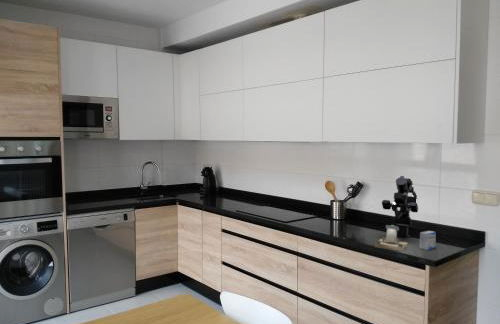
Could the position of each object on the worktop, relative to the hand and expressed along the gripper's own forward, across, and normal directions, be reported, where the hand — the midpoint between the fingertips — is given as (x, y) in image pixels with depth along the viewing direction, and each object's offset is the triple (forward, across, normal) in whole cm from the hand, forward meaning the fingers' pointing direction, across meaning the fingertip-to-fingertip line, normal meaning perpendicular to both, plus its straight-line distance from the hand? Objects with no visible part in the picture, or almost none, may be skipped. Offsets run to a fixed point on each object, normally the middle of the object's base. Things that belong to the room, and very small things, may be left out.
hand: (396, 218), depth 214 cm
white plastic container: (+16, 0, -1) cm, 16 cm away
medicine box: (+12, +16, +8) cm, 22 cm away
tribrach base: (+17, 0, +2) cm, 17 cm away
